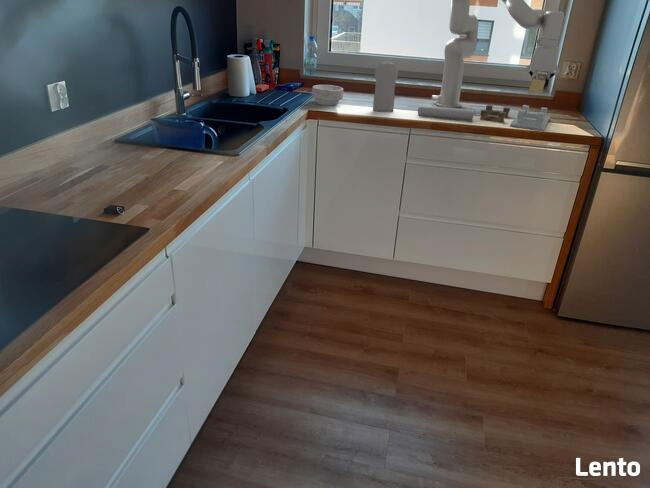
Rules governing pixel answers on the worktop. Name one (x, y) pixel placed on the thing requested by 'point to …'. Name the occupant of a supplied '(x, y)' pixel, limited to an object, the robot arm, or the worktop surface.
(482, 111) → the beam saddles
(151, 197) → the worktop surface
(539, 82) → the tan square beam
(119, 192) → the worktop surface
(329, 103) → the paper bowls
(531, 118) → the v block stand
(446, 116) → the tube
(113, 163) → the worktop surface
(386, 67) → the tall pale column
